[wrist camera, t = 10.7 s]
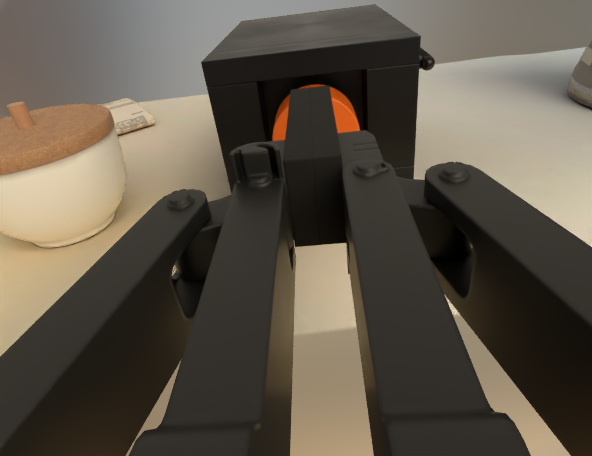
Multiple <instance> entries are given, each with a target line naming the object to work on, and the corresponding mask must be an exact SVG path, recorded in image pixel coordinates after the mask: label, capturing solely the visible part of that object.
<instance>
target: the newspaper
mask: <svg viewBox="0 0 592 456" xmlns="http://www.w3.org/2000/svg"><path fill="white" fill-rule="evenodd" d="M101 106H104V107H106V108H108V109H109V110H110V111H111V114H112V117H113V120H114V124H115V126H114V127H115V130H116V133H117V135H120V134H123V133H127V132H130V131H133V130H137V129H140V128H143V127H147V126H150V125H153V124H155V121H154V118H153V117H152V115H151V114H150V113H149V112H147V111H146V110H145V109H144V108H142V107H141V106H140V105H139V104H137V103H136V102H134V101H132V100H130V99H129V98H125V99H121V100H117V101H114V102H110V103H106V104H102V105H101Z"/></svg>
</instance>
